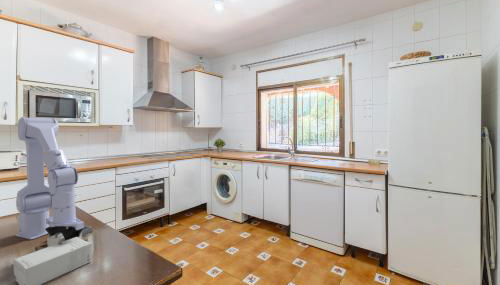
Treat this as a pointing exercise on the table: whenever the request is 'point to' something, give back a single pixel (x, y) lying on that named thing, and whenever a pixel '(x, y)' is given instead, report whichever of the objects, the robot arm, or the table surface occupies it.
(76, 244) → the skincare box
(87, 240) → the walnut bay
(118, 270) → the table surface
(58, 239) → the white drawer with handle
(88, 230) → the slate drawer housing
